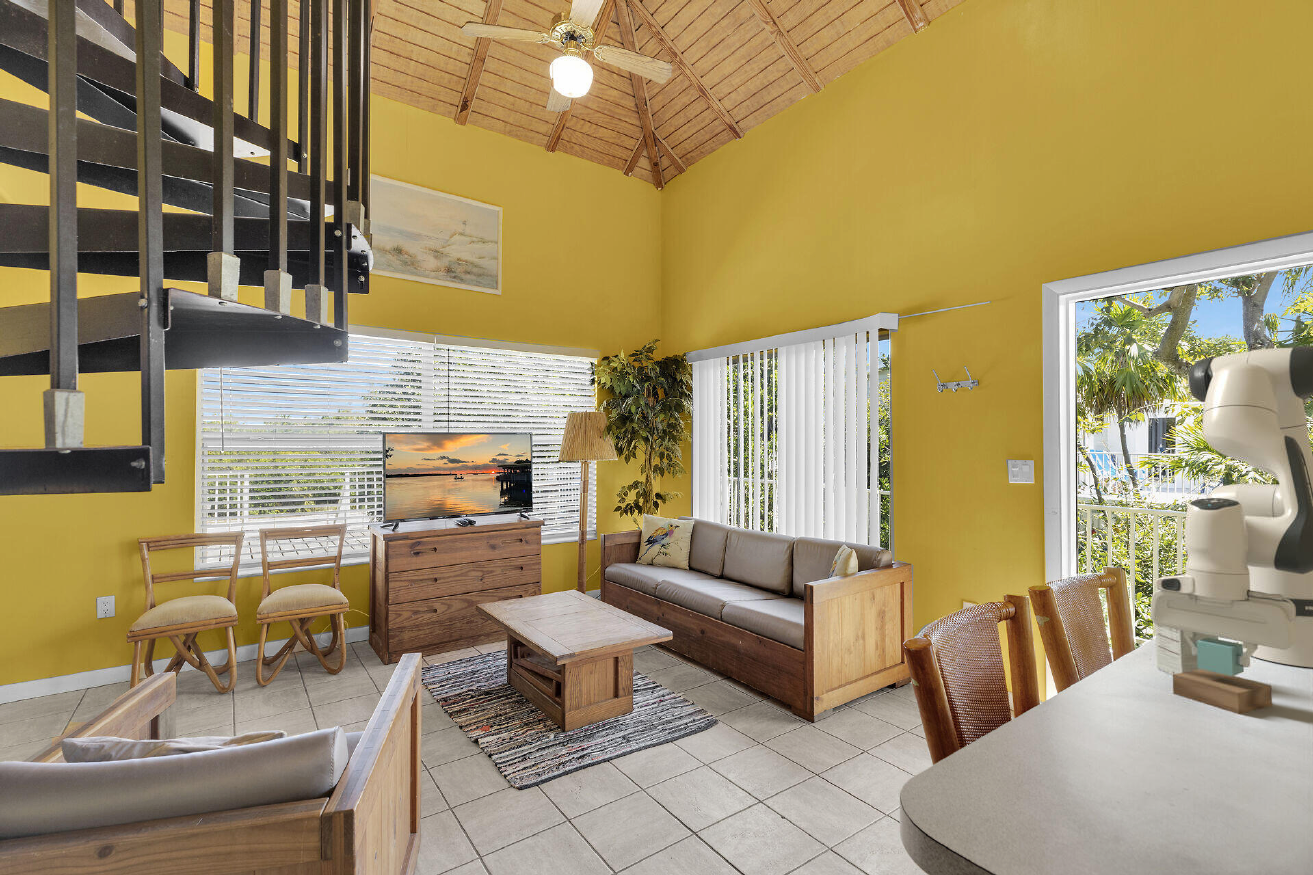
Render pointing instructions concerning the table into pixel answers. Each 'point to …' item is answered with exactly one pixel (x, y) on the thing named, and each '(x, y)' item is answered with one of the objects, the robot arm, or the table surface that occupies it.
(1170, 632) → the supplement box
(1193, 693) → the walnut block
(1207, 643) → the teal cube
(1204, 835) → the table surface
